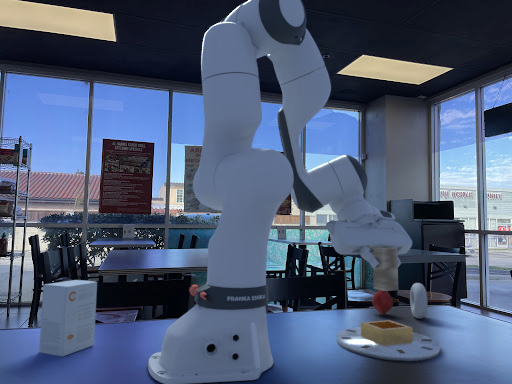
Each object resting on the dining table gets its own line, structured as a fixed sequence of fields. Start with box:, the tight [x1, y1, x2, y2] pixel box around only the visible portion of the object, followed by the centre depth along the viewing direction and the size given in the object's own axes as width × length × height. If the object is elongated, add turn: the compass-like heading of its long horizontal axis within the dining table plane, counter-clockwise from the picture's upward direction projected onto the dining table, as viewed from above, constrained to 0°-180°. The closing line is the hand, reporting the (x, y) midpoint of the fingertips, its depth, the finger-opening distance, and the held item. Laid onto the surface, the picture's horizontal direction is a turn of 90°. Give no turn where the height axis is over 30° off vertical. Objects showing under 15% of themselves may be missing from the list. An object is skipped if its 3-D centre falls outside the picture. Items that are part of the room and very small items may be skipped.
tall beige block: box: [372, 248, 399, 292], centre depth 87 cm, size 4×3×9 cm
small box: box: [38, 279, 98, 358], centre depth 78 cm, size 8×6×13 cm
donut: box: [409, 282, 428, 320], centre depth 112 cm, size 10×4×10 cm, turn 168°
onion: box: [371, 290, 394, 316], centre depth 116 cm, size 6×6×8 cm
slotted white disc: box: [336, 319, 440, 362], centre depth 85 cm, size 21×21×4 cm
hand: (387, 265), depth 86 cm, fingers closed on tall beige block, 4 cm apart
